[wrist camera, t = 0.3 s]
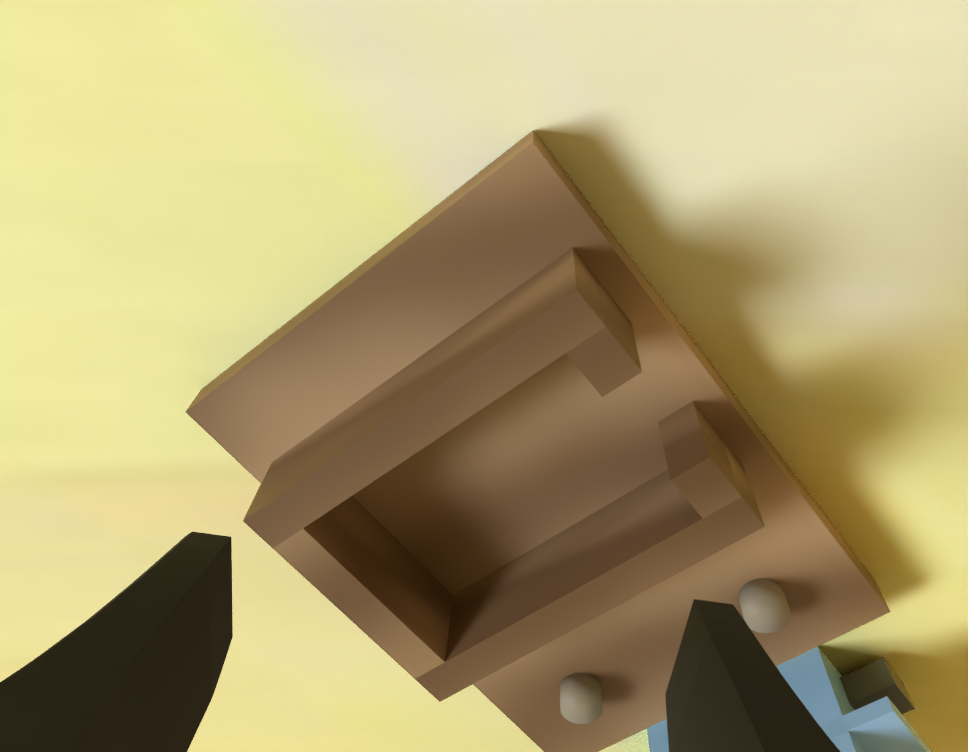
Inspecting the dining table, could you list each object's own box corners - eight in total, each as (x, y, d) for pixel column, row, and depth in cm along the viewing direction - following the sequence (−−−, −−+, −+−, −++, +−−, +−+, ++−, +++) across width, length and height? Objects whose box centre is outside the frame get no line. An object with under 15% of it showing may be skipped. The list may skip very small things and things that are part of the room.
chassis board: (875, 582, 25) (924, 682, 22) (561, 737, 29) (563, 842, 26) (533, 130, 20) (531, 173, 17) (201, 389, 24) (147, 466, 20)
